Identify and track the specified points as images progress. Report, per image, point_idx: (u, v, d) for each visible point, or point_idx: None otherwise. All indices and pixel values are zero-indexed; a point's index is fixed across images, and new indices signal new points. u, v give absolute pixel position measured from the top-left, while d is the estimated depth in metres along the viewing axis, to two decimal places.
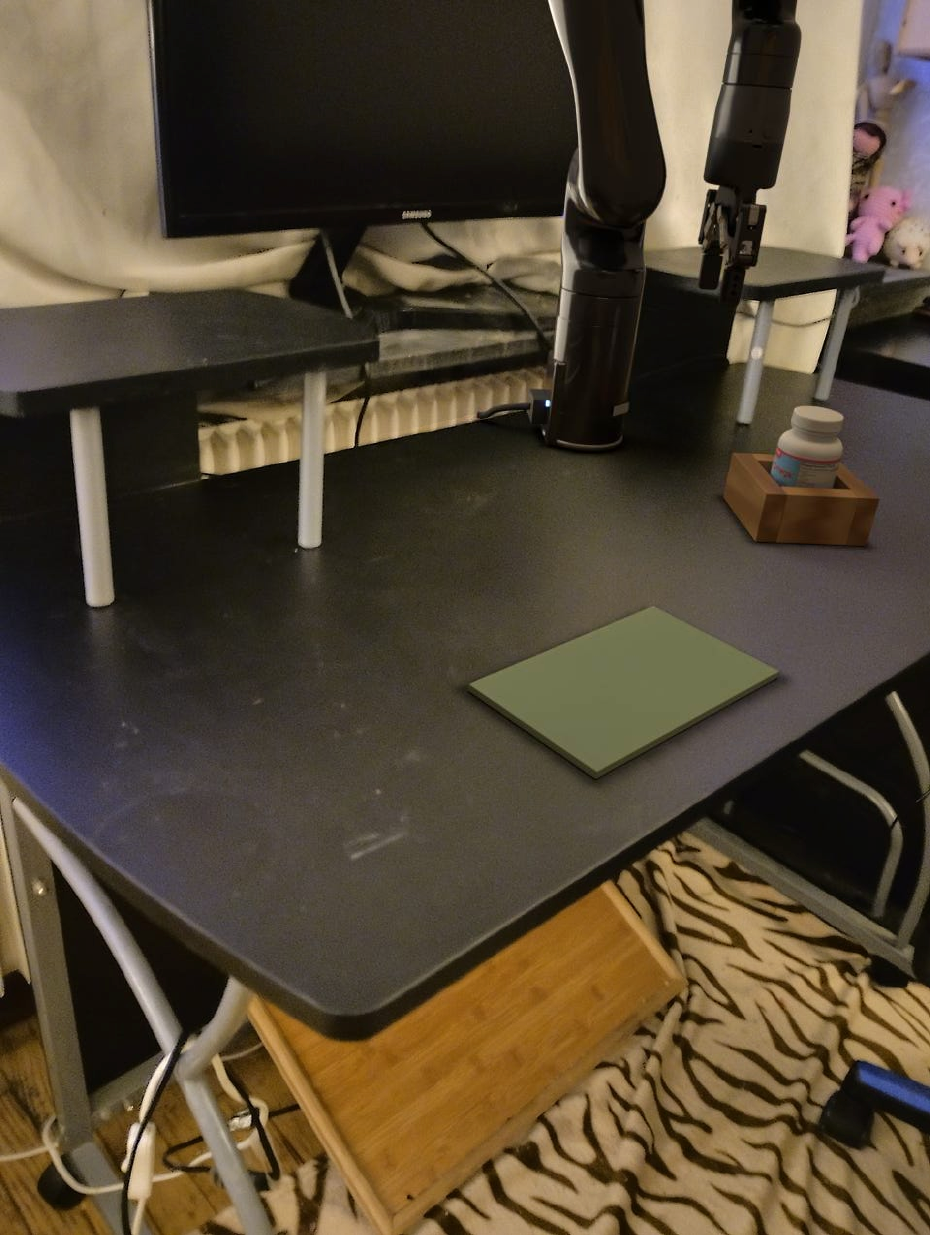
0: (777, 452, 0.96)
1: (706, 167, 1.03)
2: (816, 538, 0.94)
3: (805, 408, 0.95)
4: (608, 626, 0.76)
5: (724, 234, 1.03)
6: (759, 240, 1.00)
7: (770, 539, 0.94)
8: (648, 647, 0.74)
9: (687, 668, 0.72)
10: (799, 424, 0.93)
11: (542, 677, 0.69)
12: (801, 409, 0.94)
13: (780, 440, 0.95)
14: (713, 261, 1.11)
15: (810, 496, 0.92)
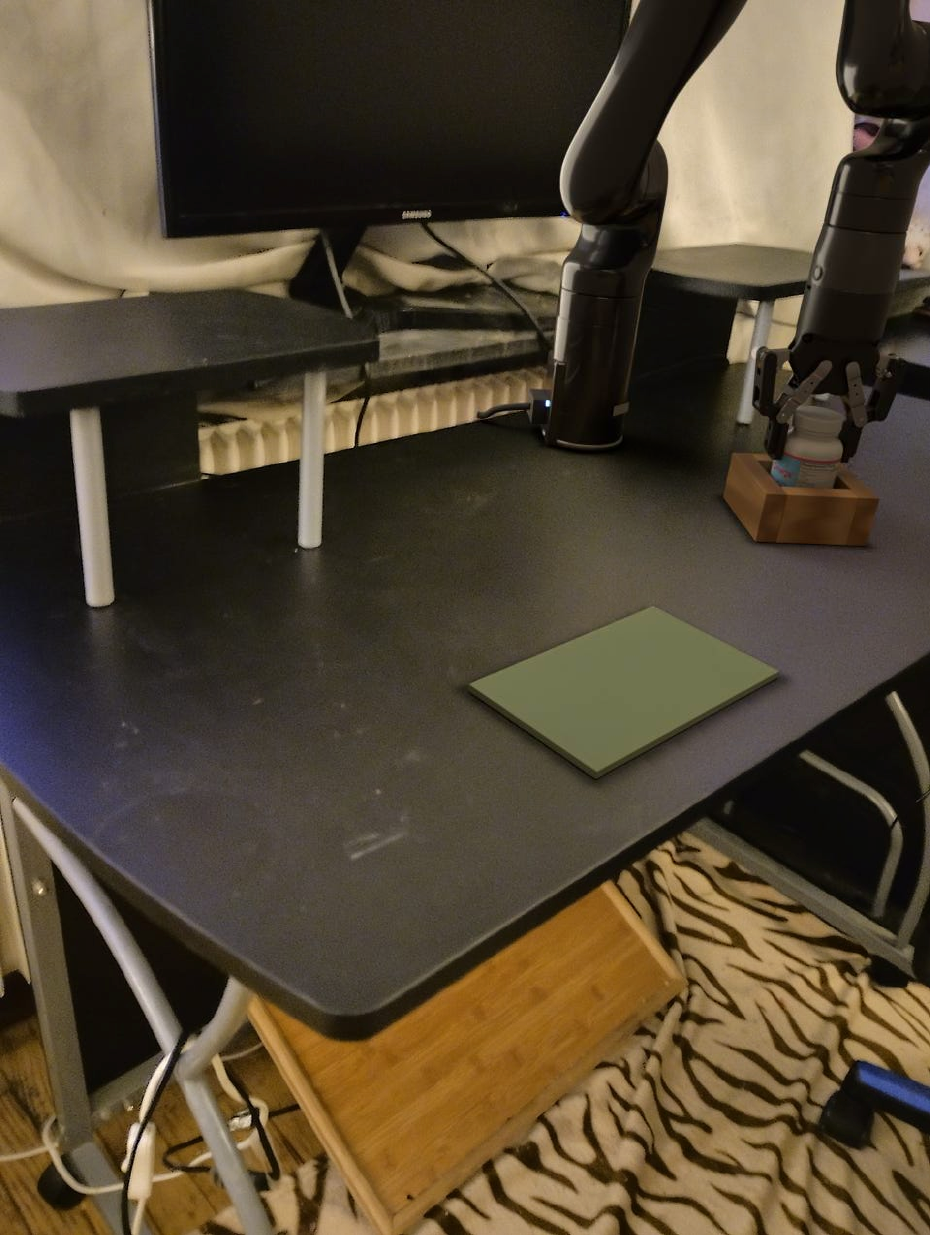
0: None
1: None
2: (816, 538, 0.94)
3: (805, 408, 0.95)
4: (608, 626, 0.76)
5: (787, 380, 0.94)
6: (761, 389, 0.91)
7: (770, 539, 0.94)
8: (648, 647, 0.74)
9: (687, 668, 0.72)
10: (799, 424, 0.93)
11: (542, 677, 0.69)
12: (801, 409, 0.94)
13: None
14: (845, 430, 0.95)
15: (810, 496, 0.92)
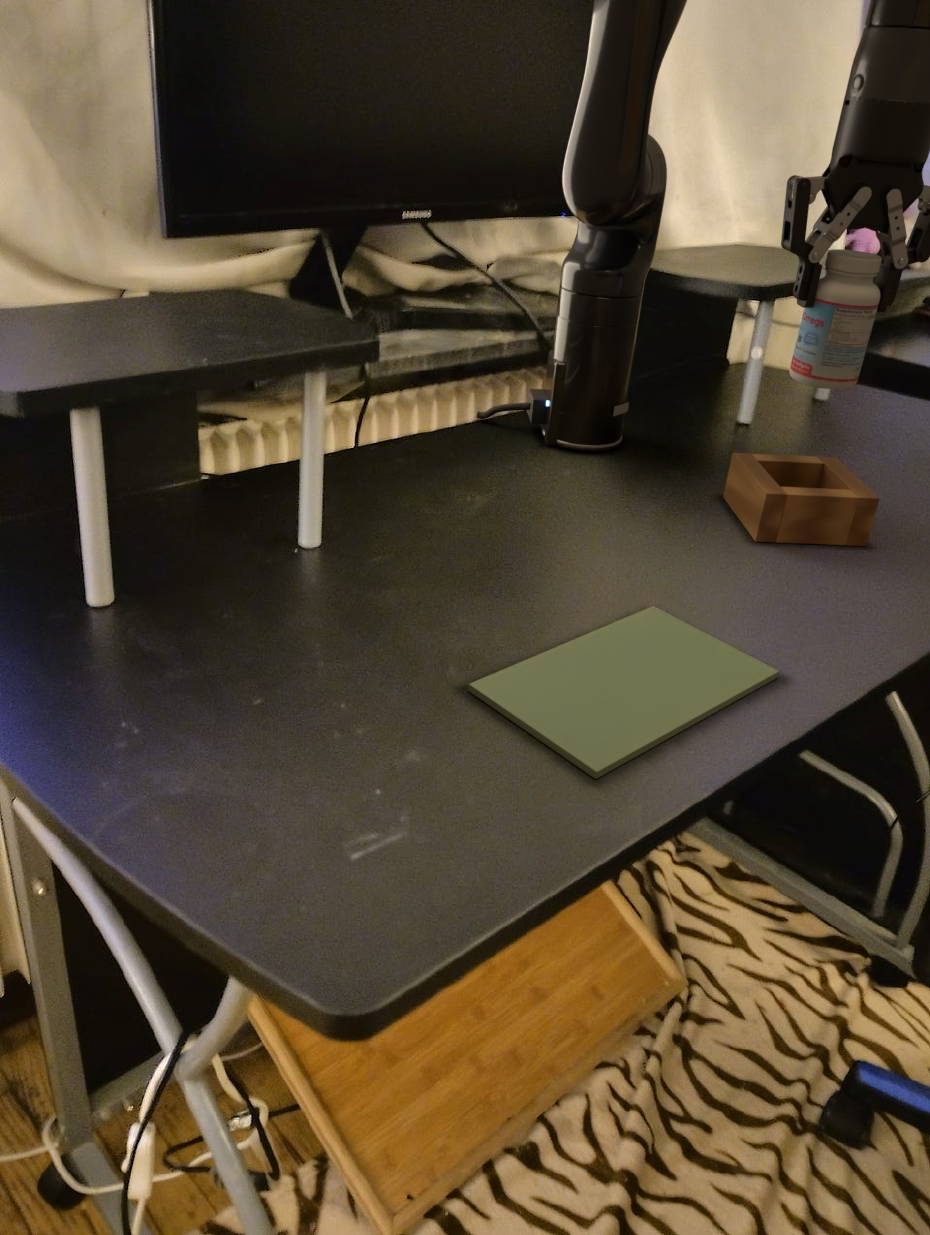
0: None
1: None
2: (816, 538, 0.94)
3: (838, 250, 0.86)
4: (608, 626, 0.76)
5: (819, 217, 0.85)
6: (792, 221, 0.82)
7: (770, 539, 0.94)
8: (648, 647, 0.74)
9: (687, 668, 0.72)
10: (833, 265, 0.84)
11: (542, 677, 0.69)
12: (835, 251, 0.86)
13: None
14: (882, 274, 0.86)
15: (810, 496, 0.92)
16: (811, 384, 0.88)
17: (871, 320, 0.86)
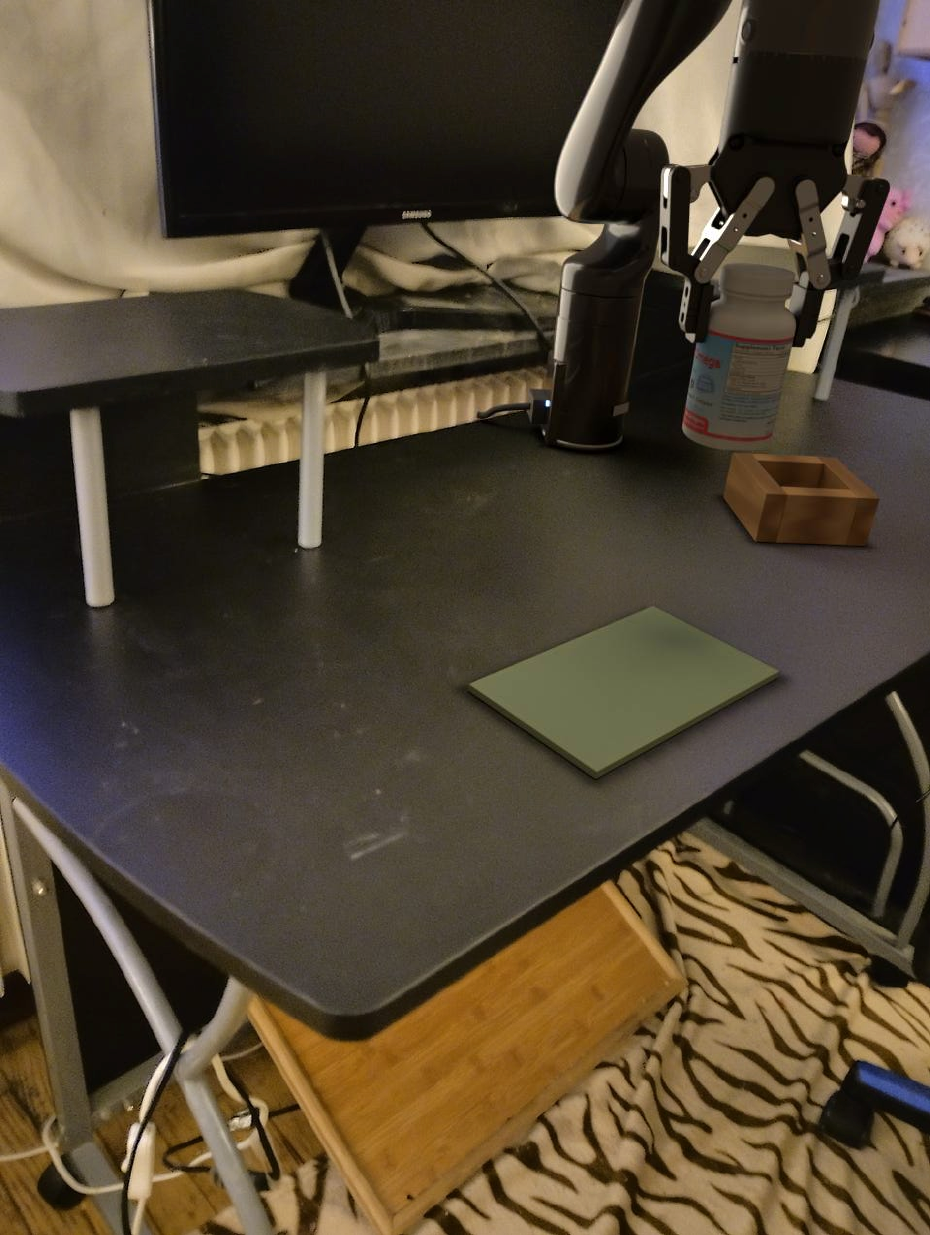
0: None
1: None
2: (816, 538, 0.94)
3: (739, 265, 0.64)
4: (608, 626, 0.76)
5: (710, 220, 0.62)
6: (669, 227, 0.60)
7: (770, 539, 0.94)
8: (648, 647, 0.74)
9: (687, 668, 0.72)
10: (729, 285, 0.62)
11: (542, 677, 0.69)
12: (733, 266, 0.63)
13: None
14: (798, 296, 0.63)
15: (810, 496, 0.92)
16: (708, 444, 0.66)
17: (784, 358, 0.63)
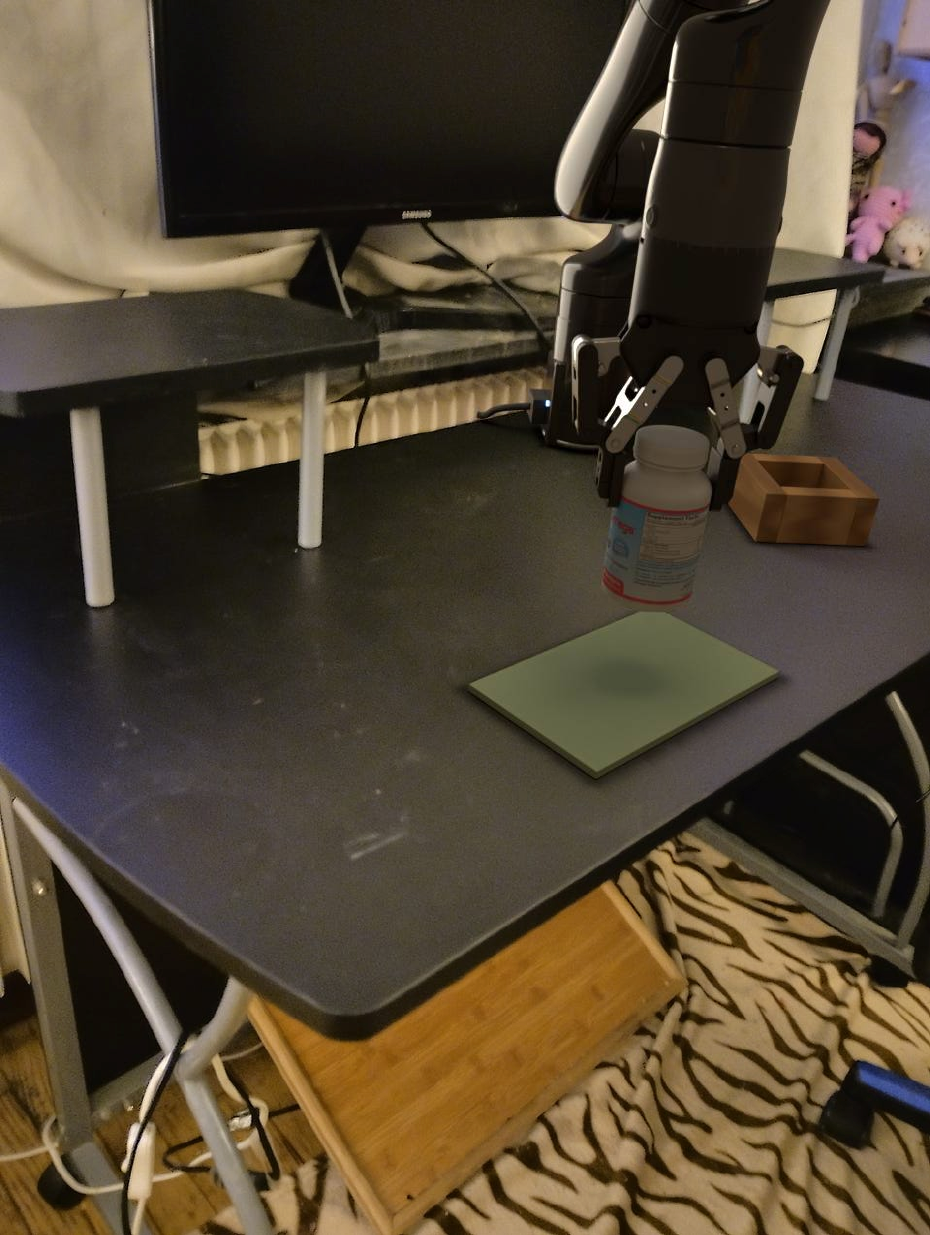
0: None
1: None
2: (816, 538, 0.94)
3: (655, 428, 0.62)
4: (608, 626, 0.76)
5: (624, 386, 0.61)
6: (577, 400, 0.59)
7: (770, 539, 0.94)
8: (648, 647, 0.74)
9: (687, 668, 0.72)
10: (641, 454, 0.61)
11: (542, 677, 0.69)
12: (648, 431, 0.62)
13: None
14: (715, 461, 0.62)
15: (810, 496, 0.92)
16: (624, 605, 0.65)
17: (699, 526, 0.62)
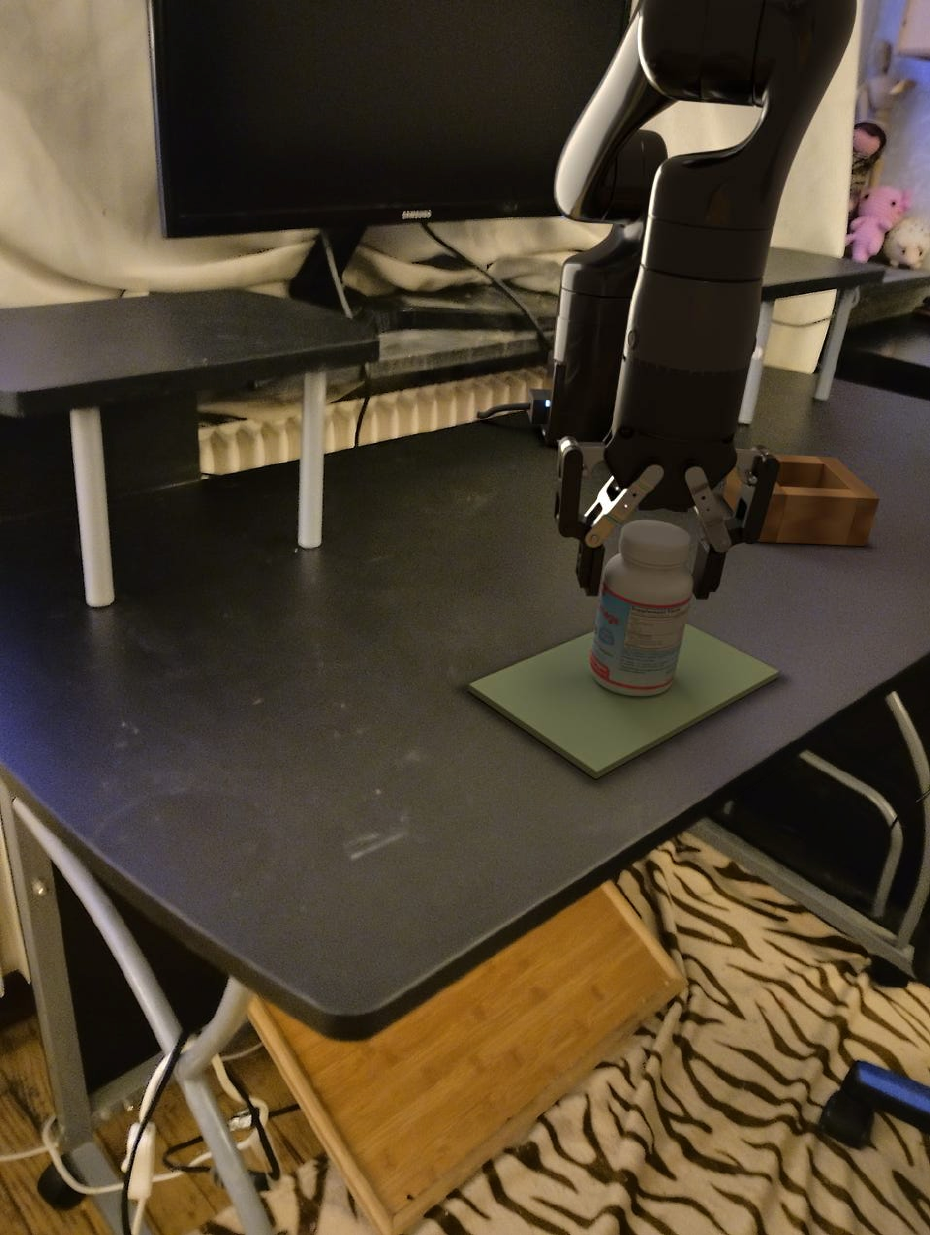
0: (601, 586, 0.67)
1: None
2: (816, 538, 0.94)
3: (639, 524, 0.66)
4: None
5: (606, 484, 0.64)
6: (560, 499, 0.62)
7: (770, 539, 0.94)
8: None
9: (687, 668, 0.72)
10: (626, 551, 0.64)
11: (542, 677, 0.69)
12: (632, 527, 0.65)
13: (605, 570, 0.66)
14: (702, 553, 0.65)
15: (810, 496, 0.92)
16: (610, 689, 0.68)
17: (681, 617, 0.65)
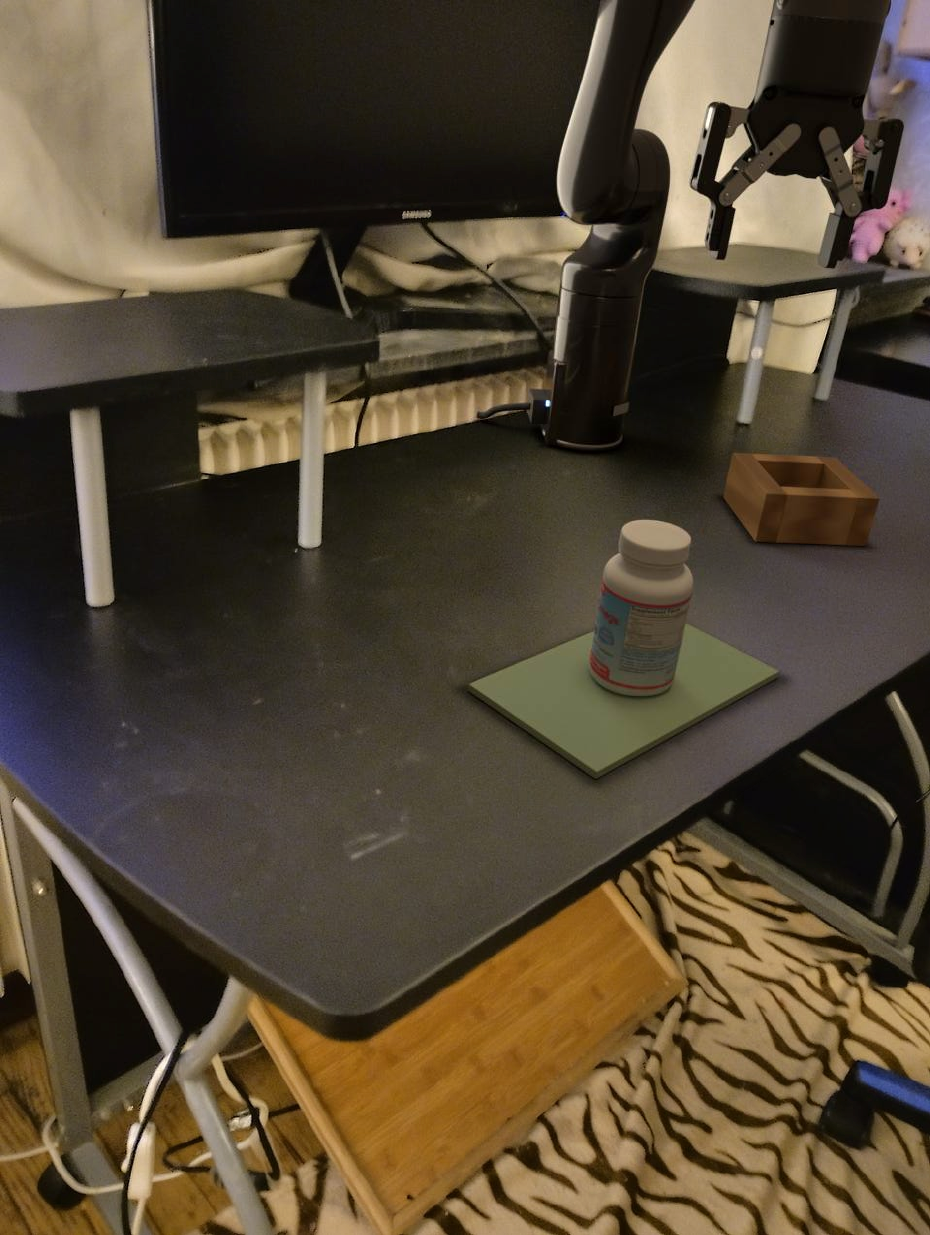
0: (601, 586, 0.67)
1: None
2: (816, 538, 0.94)
3: (639, 524, 0.66)
4: None
5: (741, 155, 0.73)
6: (704, 154, 0.70)
7: (770, 539, 0.94)
8: None
9: (687, 668, 0.72)
10: (626, 551, 0.64)
11: (542, 677, 0.69)
12: (632, 527, 0.65)
13: (605, 570, 0.66)
14: (832, 223, 0.74)
15: (810, 496, 0.92)
16: (610, 689, 0.68)
17: (681, 617, 0.65)
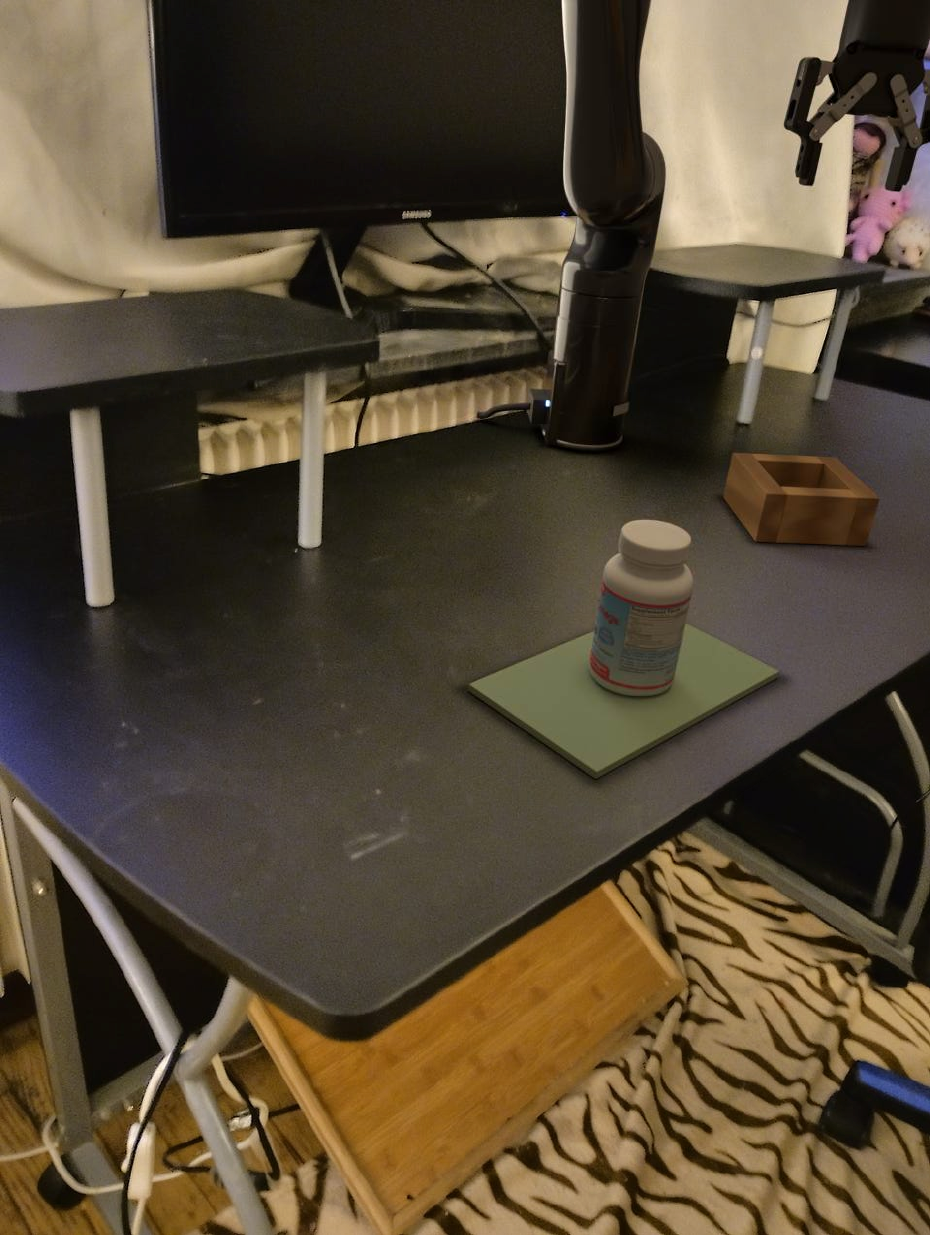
0: (601, 586, 0.67)
1: None
2: (816, 538, 0.94)
3: (639, 524, 0.66)
4: None
5: None
6: (798, 98, 0.88)
7: (770, 539, 0.94)
8: None
9: (687, 668, 0.72)
10: (626, 551, 0.64)
11: (542, 677, 0.69)
12: (632, 527, 0.65)
13: (605, 570, 0.66)
14: (898, 154, 0.92)
15: (810, 496, 0.92)
16: (610, 689, 0.68)
17: (681, 617, 0.65)
